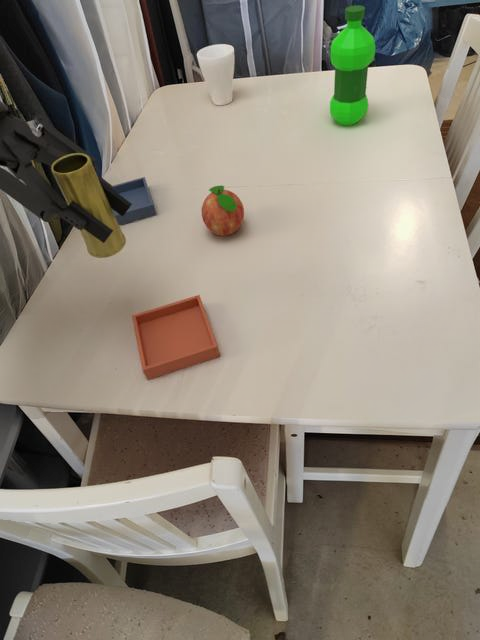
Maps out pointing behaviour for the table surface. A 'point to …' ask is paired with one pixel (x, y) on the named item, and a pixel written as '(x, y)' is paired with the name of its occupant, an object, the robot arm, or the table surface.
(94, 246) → the vase
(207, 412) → the table surface
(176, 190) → the table surface
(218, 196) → the fruit
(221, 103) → the cup
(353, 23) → the plastic bottle
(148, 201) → the slate tray
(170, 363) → the terracotta tray
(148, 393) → the table surface
